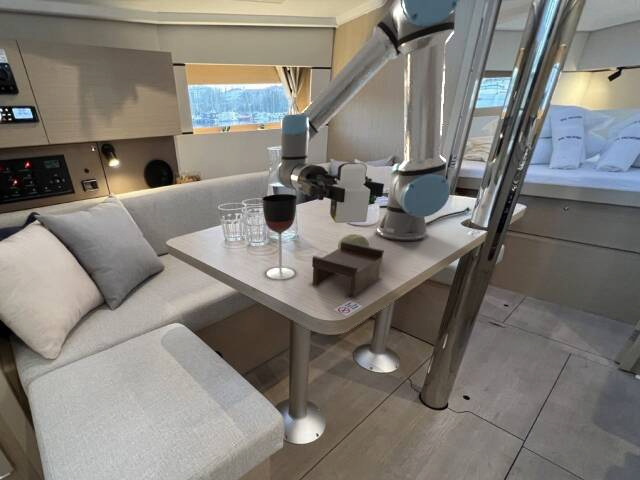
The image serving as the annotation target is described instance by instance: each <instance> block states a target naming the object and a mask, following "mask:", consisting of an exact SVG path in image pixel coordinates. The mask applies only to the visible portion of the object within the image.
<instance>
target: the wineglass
mask: <svg viewBox="0 0 640 480" xmlns="http://www.w3.org/2000/svg"><path fill="white" fill-rule="evenodd" d="M261 199H262V202H261V203H262V211H263V216H264V221H265V225H266V226H267V228H268V229H270V230H271V231H273V232H275V233H277V234H278V267H275V268H271V269H269V270H268V271H267V272H266V276H267V277H268V278H270V279H273V280H286V279H290V278H292V277H294V275H295V271H294V270H293V269H290V268H288V267H283V253H282V252H283V251H282V250H283V249H282V248H283V245H282V240H283V239H282V237H283V235H282V234H283V233H284V232H286V231H287V230H289V229H290V228H291V227H292V226H293V224H294V222H295V218H296V213H297V200H298V197H297V195H295V194H291V193H276V194H270V195H266V196H264V197H262V198H261Z"/></svg>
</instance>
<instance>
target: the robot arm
mask: <svg viewBox="0 0 640 480" xmlns="http://www.w3.org/2000/svg"><path fill="white" fill-rule="evenodd" d="M460 1H461V0H394V1H393V2H392V4H391V6H390V8H389V9H388V10H387V12H386V13H385V14H384V16H383V17H382V18H381V20H380V21H379V22H378V23H377V24H376V25H375V27H374V28H373V34H372V35H371V36H370V37H369V39H368V40H367V41H366V42H365V43H364V44H363V46H362V47H360V49H359V50H358V51H357V52H356V53H355V54H354V56H352V58H350V60H349V61H348V62H347V63H346V64H345V65H344V66H343V67H342V68H341V69H340V71H338V73H337V74H336V75H335V76H334V78H332V79H331V81H329V83H328V84H327V85H326V86H325V87H324V88H323V89H322V90H321V91H320V93H319V94H317V96H316V97H315V98H314V99H313V100H312V102H310V104H309V105H308V106H307V107H306V108H305V109H304V110H303V111H302V113H298V114H297V113H296V114H285V115H283V116H282V117H281V123H280V124H281V125H280V137H281V139H280V142H281V144H280V145H281V147H280V148H281V155H280V156H281V159H280V160H281V161H280V164H279V165H278V166H277V168H276V173H275V176H276V179H277V182H278V183H279V184H280V185H282V186H284V187H285V188H287V189H291V190H293V191H297V192H301V193H302V195H307V196H308V197H310V198H315V197H317V201H324V199H325V198H326V199H329V200H330V201H331V200H334V201H337V202H341V203H342V202H344V197H345V189H344V188H340V187H336V186H332V185H338V184H337V175H338V174H336V175H335V174H333V173H329V172H328V170H327V168H325V167H324V166H322V165H317V164H313V163H308V149H309V143H310V142H311V141H312V140H313V138H315V137H316V135H318V133H319V132H320V131H321V130H322V129H324V127H325V126H326V125H327V124H328V123H329V122H330V121H331V120H332V119H333V118H334V117H335V116H337V114H338V113H339V112H340V111H341V110H342V108H344V107H345V106H346V105H347V103H348V102H350V101H351V99H352V98H354V96H356V94H357V93H358V92H359V91H360V90H361V89H362V88H363V87H364V86H366V84H368V82H369V81H370V80H371V79H372V78H373V77H374V76H375V75H376V74H377V73H378V72H379V71H380V70H381V69H382V68H383V67H384V66H385V65H386V64H387V63H388V62H389V61H390V60H396V59H397V58H398V57H399V56H400V55H401V54H403V56H404V97H403V98H404V99H403V101H404V104H403V105H404V107H403V108H404V110H403V111H404V115H403V116H404V119H403V121H404V122H403V123H404V128H403V131H404V133H403V136H404V138H403V140H404V141H403V161H402V162H397V163H394V165H393V166H392V171H391V172H390V182H389V190H388V196H387V203H386V209H385V213H384V214H383V216H382V218H381V220H380V222H379V224H378V227H377V231H376V232H377V235H378V236H380V237H381V238H384V239H387V240H390V241H391V240H393V241H400V242H414V241H419V240H420V241H421V240H422V239H424V238H425V237H426V234H427V225H429V224H432V223H434V222H436V221H438V220H440V219H442V218H446V217H450V216H453V215H459V214H463V213H465V212H467V211H470V207H468V206H466V208H465V209H464V210H459V211H455V212H449V213H446V214H443V215H440V216H437V217H435V218H434V219H432V220H430V221H427V222H426V217H430V216H433V215H435V214H437V213H438V212H439V211H440V210H442V208H444V206H446V204H447V202H448V200H449V199H450V194H451V187H450V184H449V181H448V179H447V178H446V173H447V160H446V159H445V158H444V157H443V156H441V141H442V126H443V125H442V124H443V104H444V86H445V85H444V84H445V68H446V67H445V66H446V50H447V49H446V47H447V42H448V41H449V40H450V38H451V37H452V35H453V34H454V33H455V23H456V8H457V7H458V5H459V3H460ZM363 185H364V186H366V187H367V188H369V189H370V196H374V197H378V198H382V197H383V195H384V187H385V183H381V182H377V181H373V178H371V177H369V176H367V175H366V179H365V183H364V184H363Z"/></svg>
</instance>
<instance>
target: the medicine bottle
mask: <svg viewBox="0 0 640 480" xmlns="http://www.w3.org/2000/svg"><path fill="white" fill-rule="evenodd" d="M367 169H368V166H367V165H366V164H364V163H362V162H344V163H342V164H339V166H338V167H337V174H336V175H337V183H336V184H338V185H332V186H336V187H340V188H344V189H345V197H344V202H342V203H341V202H337V201H334V200H331V199H330V209H329V215H330V217H331V219H332V220H333V222H334V223H335V224H339V223H342V224H343V223H366V222H367V219H368V211H369V204H370V196H371V195H370V189H369V188H367V187H366V186H364V185H363V184H364V183H365V179H366V176H367Z"/></svg>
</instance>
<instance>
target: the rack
mask: <svg viewBox="0 0 640 480" xmlns="http://www.w3.org/2000/svg"><path fill="white" fill-rule="evenodd" d="M384 252H385V251H384V249H380V248H376V247H370V246H369V247H367V246H362V245H357V244H353V243H348V242H341V248H339V249H338V248H337V249H336V250H334V251H332V252H330V253H328V254H326V255H325V256H323V257H320V256H317V255H314V256H313V257H312V259H311V260H312V262H311V263H312V264H311V267H312V285H313V286H318V285H321V284H322V283H323V282H325V281H326V280H328V279H330V278H331V277H333V276H334V275H339V276H343V277H347V278H348V279H349V278H350V279H349V282H350V283H349V288H348V289H349V290H348V297H349V298H351V299H354V298H355V297H356V296H358V295H359V294H360V293H362V292H363V291H364V290H365V289H367V288H368V287H370V286H371V285H372V284H374V283H375V282H376V281H377V280H379V278H380V271H381V265H382V260H383V258H384Z"/></svg>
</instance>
